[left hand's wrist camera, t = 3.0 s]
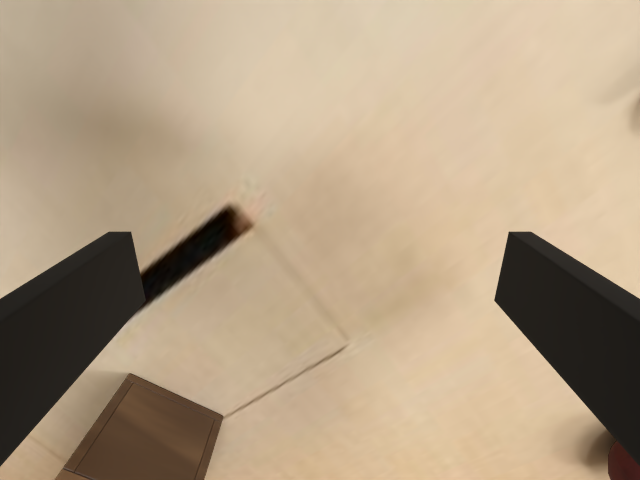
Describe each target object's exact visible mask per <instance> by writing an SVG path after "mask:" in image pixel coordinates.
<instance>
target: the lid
mask: <svg viewBox="0 0 640 480" xmlns="http://www.w3.org/2000/svg"><path fill="white" fill-rule="evenodd" d="M55 480H90V479H88V478H85V477H82V476H80V475H77V474H75V473H72V472H69V471H67V470H64V469H62V470H61V471H60V473H59V474H58V476H57V477H56V479H55Z"/></svg>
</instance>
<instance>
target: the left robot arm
mask: <svg viewBox="0 0 640 480" xmlns="http://www.w3.org/2000/svg"><path fill="white" fill-rule="evenodd" d="M145 301H146V300H145V295H144V290H143V286H142V281H141V276H140V272H139V267H138V262H137V257H136V253H135V248H134V243H133V239H132V234H131V232H108V233H106V234H105V235H103V236H101V237H100V238H98V239H96V240H95V241H93V242H92V243H90V244H88V245H87V246H85V247H84V248H82V249H80V250H79V251H77V252H75V253H74V254H72V255H71V256H69V257H67V258H66V259H64V260H62V261H61V262H59V263H58V264H56V265H54V266H53V267H51V268H50V269H48V270H46V271H45V272H43V273H41V274H40V275H38V276H37V277H35V278H33V279H32V280H30V281H28V282H27V283H25V284H24V285H22V286H20V287H19V288H17V289H16V290H14V291H12V292H11V293H9V294H7V295H6V296H4V297H3V298H1V299H0V466H1V465H2V464H3V463H4V462H5V461H6V459H7V458H8V457H9V456H10V455H11V454H12V453H13V451H14V450H15V449H16V448H17V447H18V446H19V445H20V443H21V442H22V441H23V440H24V439H25V438H26V437H27V435H28V434H29V433H30V432H31V431H32V430H33V429H34V427H35V426H36V425H37V424H38V423H39V422H40V421H41V419H42V418H43V417H44V416H45V415H46V414H47V413H48V411H49V410H50V409H51V408H52V407H53V406H54V405H55V403H56V402H57V401H58V400H59V399H60V398H61V397H62V395H63V394H64V393H65V392H66V391H67V390H68V389H69V387H70V386H71V385H72V384H73V383H74V382H75V381H76V379H77V378H78V377H79V376H80V375H81V374H82V373H83V371H84V370H85V369H86V368H87V367H88V366H89V365H90V363H91V362H92V361H93V360H94V359H95V358H96V357H97V355H98V354H99V353H100V352H101V351H102V350H103V349H104V347H105V346H106V345H107V344H108V343H109V342H110V341H111V340H112V338H113V337H114V336H115V335H116V334H117V333H118V332H119V330H120V329H121V328H122V327H123V326H124V325H125V324H126V322H127V321H128V320H129V319H130V318H131V317H132V316H133V314H134V313H135V312H136V311H137V310H138V309H139V308H140V306H141V305H142V304H143V303H144V302H145ZM494 301H495V302H496V303H497V304H498V305H499V306H500V308H501V309H502V310H503V311H504V312H505V313H506V314H507V316H508V317H509V318H510V319H511V320H512V321H513V322H514V324H515V325H516V326H517V327H518V328H519V329H520V330H521V332H522V333H523V334H524V335H525V336H526V337H527V338H528V340H529V341H530V342H531V343H532V344H533V345H534V346H535V348H536V349H537V350H538V351H539V352H540V353H541V354H542V355H543V357H544V358H545V359H546V360H547V361H548V362H549V363H550V365H551V366H552V367H553V368H554V369H555V370H556V371H557V373H558V374H559V375H560V376H561V377H562V378H563V379H564V381H565V382H566V383H567V384H568V385H569V386H570V387H571V389H572V390H573V391H574V392H575V393H576V394H577V395H578V397H579V398H580V399H581V400H582V401H583V402H584V403H585V405H586V406H587V407H588V408H589V409H590V410H591V411H592V413H593V414H594V415H595V416H596V417H597V418H598V419H599V421H600V422H601V423H602V424H603V425H604V426H605V427H606V429H607V430H608V431H609V432H610V433H611V434H612V435H613V437H614V438H615V439H616V440H617V441H618V442H619V443H620V445H621V446H622V447H623V448H624V449H625V450H626V451H627V453H628V454H629V455H630V456H631V457H632V458H633V459H634V461H635V462H636V463H637V464H638V465H639V466H640V299H639V298H637V297H636V296H634V295H633V294H631V293H629V292H628V291H626V290H624V289H623V288H621V287H620V286H618V285H616V284H615V283H613V282H612V281H610V280H608V279H607V278H605V277H603V276H602V275H600V274H599V273H597V272H595V271H594V270H592V269H590V268H589V267H587V266H586V265H584V264H582V263H581V262H579V261H578V260H576V259H574V258H573V257H571V256H569V255H568V254H566V253H565V252H563V251H561V250H560V249H558V248H556V247H555V246H553V245H552V244H550V243H548V242H547V241H545V240H544V239H542V238H540V237H539V236H537V235H535V234H534V233H532V232H509V234H508V239H507V243H506V248H505V253H504V257H503V262H502V267H501V272H500V276H499V281H498V286H497V290H496V295H495V300H494Z"/></svg>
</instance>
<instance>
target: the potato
mask: <svg viewBox="0 0 640 480" xmlns="http://www.w3.org/2000/svg"><path fill="white" fill-rule="evenodd" d="M608 474H609V476H610V479H611V480H640V466H639V465H638V464H637V463H636V462H635V461H634V459H633V458H632V457H631V456H630V455H629V454H628V453H627V451H626V450H625V449H624V448H623V447H622V446H621V445H620V443H619V442H618V441H616V442H615V443H614V444H613V446H612V447H611V450H610V453H609V455H608Z"/></svg>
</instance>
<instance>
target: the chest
mask: <svg viewBox="0 0 640 480" xmlns="http://www.w3.org/2000/svg"><path fill="white" fill-rule="evenodd" d="M222 419H223V416H222V415H220V414H217V413H215V412H213V411H211V410H209V409H206V408H204V407H202V406H200V405H198V404H196V403H193V402H191V401H189V400H187V399H185V398H182V397H180V396H178V395H176V394H174V393H171V392H169V391H167V390H165V389H163V388H161V387H158V386H156V385H154V384H152V383H150V382H147V381H145V380H143V379H141V378H139V377H137V376H134V375H132V374H129V375H128V376H127V378H126V379H125V380H124V382H123V383H122V385H121V386H120V388H119V389H118V390H117V392H116V393H115V395H114V396H113V398H112V399H111V400H110V402H109V403H108V405H107V406H106V407H105V409H104V410H103V412H102V413H101V415H100V416H99V417H98V419H97V420H96V422H95V423H94V425H93V426H92V427H91V429H90V430H89V432H88V433H87V435H86V436H85V437H84V439H83V440H82V442H81V443H80V444H79V446H78V447H77V449H76V450H75V452H74V453H73V454H72V456H71V457H70V459H69V460H68V462H67V463H66V464H65V466H64V467H63V469H64V470H67V471H69V472H72V473H75V474H77V475H80V476H82V477H85V478H88V479H90V480H204V478H205V475H206V472H207V468H208V465H209V462H210V459H211V455H212V452H213V449H214V446H215V442H216V439H217V436H218V433H219V429H220V426H221V422H222Z"/></svg>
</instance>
